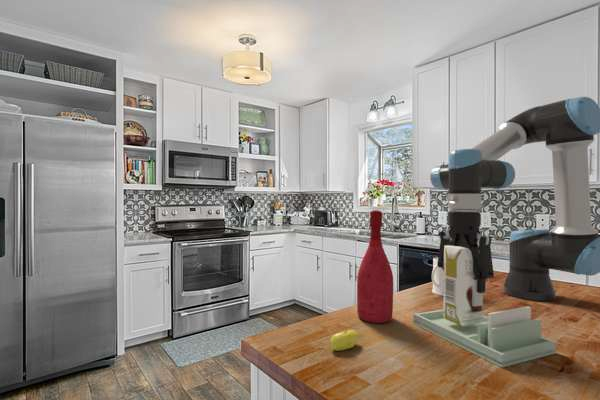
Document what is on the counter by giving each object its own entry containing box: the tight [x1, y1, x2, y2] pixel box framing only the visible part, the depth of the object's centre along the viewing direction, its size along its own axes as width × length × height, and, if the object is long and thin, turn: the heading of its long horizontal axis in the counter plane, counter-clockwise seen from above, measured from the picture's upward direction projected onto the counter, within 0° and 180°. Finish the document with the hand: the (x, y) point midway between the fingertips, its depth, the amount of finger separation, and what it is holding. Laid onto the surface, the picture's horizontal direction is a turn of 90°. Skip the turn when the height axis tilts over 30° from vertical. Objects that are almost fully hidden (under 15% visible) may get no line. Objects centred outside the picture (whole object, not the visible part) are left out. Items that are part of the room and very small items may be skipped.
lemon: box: [329, 329, 360, 352], centre depth 74 cm, size 4×8×4 cm, turn 124°
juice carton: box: [442, 246, 484, 326], centre depth 85 cm, size 8×9×19 cm
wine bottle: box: [356, 209, 394, 324], centre depth 92 cm, size 10×10×30 cm
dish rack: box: [413, 306, 557, 368], centre depth 81 cm, size 17×25×9 cm
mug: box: [431, 257, 444, 297], centre depth 118 cm, size 12×8×12 cm
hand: (463, 300), depth 85 cm, fingers closed on juice carton, 8 cm apart
